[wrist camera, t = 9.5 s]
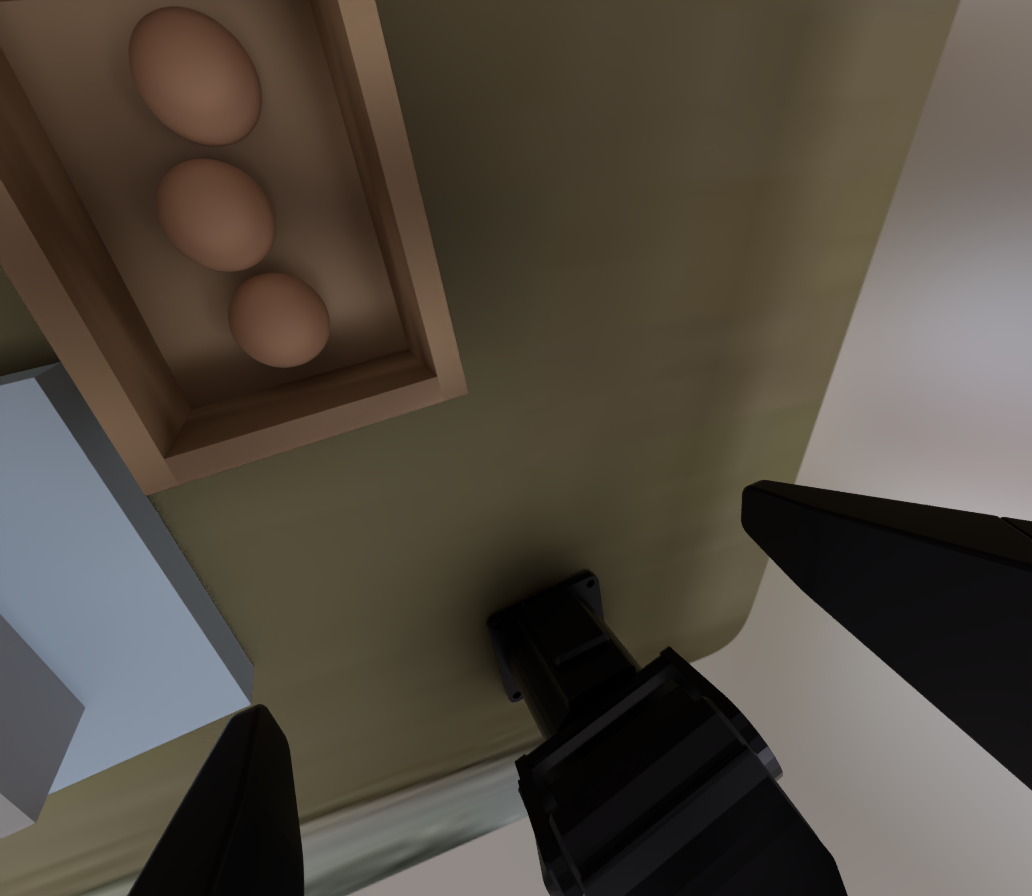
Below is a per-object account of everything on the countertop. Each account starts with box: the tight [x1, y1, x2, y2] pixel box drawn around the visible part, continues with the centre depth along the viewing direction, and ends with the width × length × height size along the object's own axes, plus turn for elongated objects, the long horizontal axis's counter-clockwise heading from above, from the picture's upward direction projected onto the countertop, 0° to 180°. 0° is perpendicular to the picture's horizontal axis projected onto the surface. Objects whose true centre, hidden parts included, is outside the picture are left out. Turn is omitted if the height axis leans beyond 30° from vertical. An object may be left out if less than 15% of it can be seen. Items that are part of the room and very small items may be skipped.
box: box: [0, 0, 468, 496], centre depth 13 cm, size 12×9×5 cm
